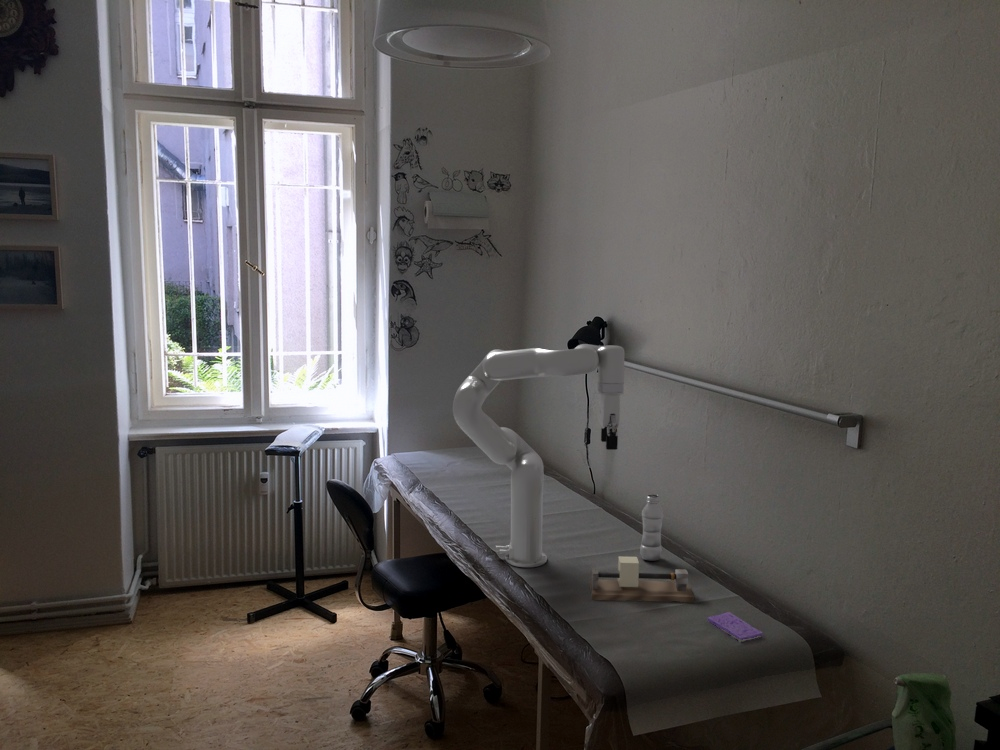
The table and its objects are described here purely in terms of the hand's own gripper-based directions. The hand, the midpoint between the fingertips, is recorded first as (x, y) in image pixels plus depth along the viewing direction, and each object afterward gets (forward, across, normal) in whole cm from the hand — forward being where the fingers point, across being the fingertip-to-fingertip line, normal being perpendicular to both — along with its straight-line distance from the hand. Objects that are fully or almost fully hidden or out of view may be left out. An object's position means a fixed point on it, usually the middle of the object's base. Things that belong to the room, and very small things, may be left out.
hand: (609, 445), depth 234 cm
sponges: (+37, +43, +25) cm, 62 cm away
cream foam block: (+34, +22, +3) cm, 40 cm away
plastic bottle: (+36, -3, +14) cm, 39 cm away
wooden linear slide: (+36, +22, +6) cm, 43 cm away
